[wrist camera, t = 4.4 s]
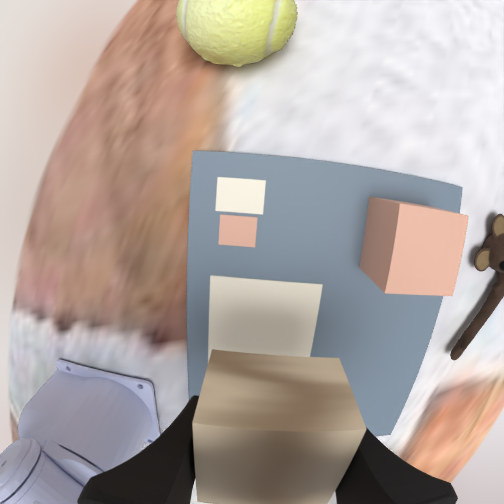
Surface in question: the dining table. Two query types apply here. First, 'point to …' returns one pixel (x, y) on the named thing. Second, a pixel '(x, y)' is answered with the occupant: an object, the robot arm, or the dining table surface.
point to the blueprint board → (303, 272)
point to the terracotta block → (412, 247)
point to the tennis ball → (236, 28)
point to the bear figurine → (500, 259)
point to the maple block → (273, 429)
